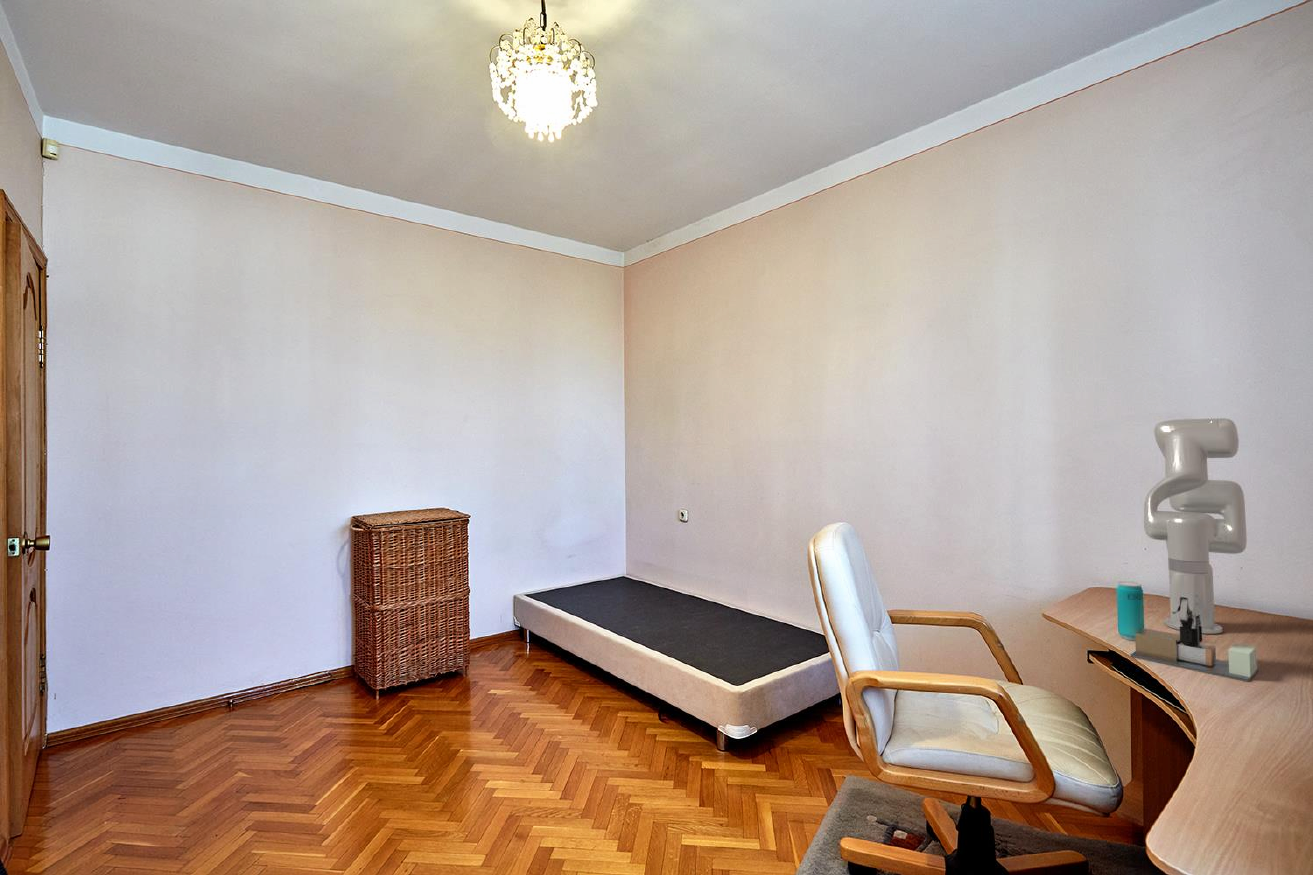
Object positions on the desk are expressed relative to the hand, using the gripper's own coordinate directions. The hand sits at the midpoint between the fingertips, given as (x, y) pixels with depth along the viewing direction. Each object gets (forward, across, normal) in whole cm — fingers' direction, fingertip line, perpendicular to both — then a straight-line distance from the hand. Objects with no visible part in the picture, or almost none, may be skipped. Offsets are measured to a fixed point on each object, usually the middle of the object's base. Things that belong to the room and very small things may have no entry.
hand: (1191, 641), depth 148 cm
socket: (+5, 0, +9) cm, 10 cm away
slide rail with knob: (+5, 0, 0) cm, 5 cm away
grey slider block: (+5, 0, -3) cm, 6 cm away
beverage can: (+5, -12, -15) cm, 20 cm away
